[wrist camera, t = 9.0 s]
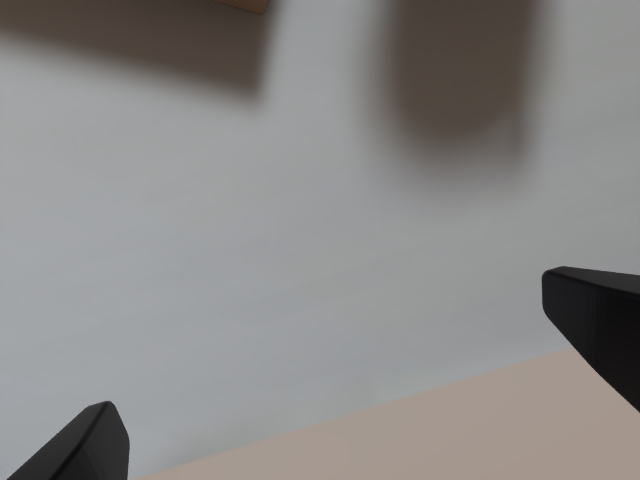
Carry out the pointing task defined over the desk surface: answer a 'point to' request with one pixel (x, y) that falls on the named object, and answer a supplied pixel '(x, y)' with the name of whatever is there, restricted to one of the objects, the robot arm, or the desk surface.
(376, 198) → the desk surface
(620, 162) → the desk surface
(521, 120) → the desk surface
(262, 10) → the socket board
